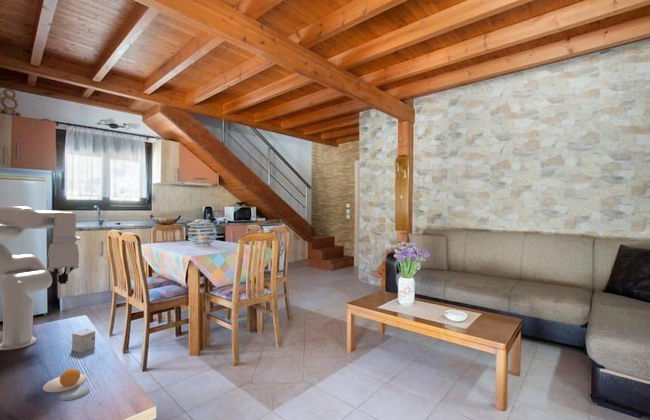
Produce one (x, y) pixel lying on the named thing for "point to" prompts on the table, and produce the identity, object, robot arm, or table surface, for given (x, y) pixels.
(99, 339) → the table surface
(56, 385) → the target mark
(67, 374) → the ball
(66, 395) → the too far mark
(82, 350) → the skincare box
